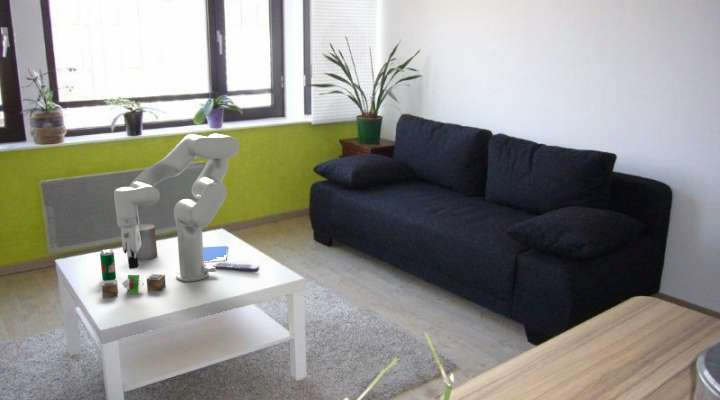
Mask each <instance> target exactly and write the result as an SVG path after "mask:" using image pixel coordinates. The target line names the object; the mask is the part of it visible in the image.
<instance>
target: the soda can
mask: <svg viewBox="0 0 720 400" xmlns="http://www.w3.org/2000/svg"><path fill="white" fill-rule="evenodd" d="M99 258H100V259H99V260H100V267H101V269H100V270H101V277H102V281H108V280H117V273H116V272H117V271H116V262H115V252H114V251H113V250H112V249H111V248H110V249H108V248H107V249H103V250H101V251H100V253H99Z"/></svg>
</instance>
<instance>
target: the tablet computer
mask: <svg viewBox="0 0 720 400" xmlns="http://www.w3.org/2000/svg"><path fill="white" fill-rule="evenodd" d="M227 247H228V246H227V245H224V246H220V245H219V246H218V245H217V246H203V256H204V261H210V260H213V259H217V258H216V257H224V255H227V256H228V254H227Z"/></svg>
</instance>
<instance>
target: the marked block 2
mask: <svg viewBox="0 0 720 400" xmlns="http://www.w3.org/2000/svg"><path fill="white" fill-rule="evenodd" d="M166 287H167V286H166V275H165V274H158V273H157V274H155V273H152V274H151V275H149V276H148V277H147V278H146V291H147V292H157V293H158V292H159V293H161V291H163V290H164V289H165V288H166Z"/></svg>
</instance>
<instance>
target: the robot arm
mask: <svg viewBox="0 0 720 400" xmlns="http://www.w3.org/2000/svg"><path fill="white" fill-rule="evenodd" d="M240 147H241V146H240V142H239V141H238V140H237V138H235V137H233V136H230V135H226V134H222V133H212V134H209V135H208V136H204V135H200V134H195V133H190V134H187V135H186V136H184V137H183V138H182V139H181V140H180V141H179V142H178V143H177V145H175V146H174V147H173V148H172V150H170V151H169V152H168V153H167V154H166V156H164V157H163V158H161V160H159V161H157V162H155V163H154V164H152V165H150V166H148V167H147V168H145V169H144V170H143V171H142V172H141V173H139V174H138V175H137V176H136V177H135V178H134V179H133V180H132V182H131V183H130V184H129V186H123V187H122V186H121V187H118V188H115V190H113V198H114V199H113V200H114V207H115V214H116V215H115V216H116V222H117V227H118V228H120V234H121V235H120V236H121V245H122V253H124V254H126V256H127V261H128V268H129V270H131V269H132V270H134V269H135V270H136V269H139V265H140V264H139V260H138V257H137V252H138V250H139V249H140V247H141V238H140V232H139V227H138V225H139V224H140V219H139V210H138V209H139V208H138V207H141V206H152V205H154V204H156V203H157V202H159V200H160V196H161V193H160V191H159V189H158V188H157V187H156V185H157V184H159V183H160V182H162V181H165V180H167V179H170V178H174V177H177V176H180V175H181V174H182V173H183V172H184V171H185V170H186V169H187V168H188V167H189V166H190V165H191V164H192V163H193V162H194V161H195V159H197V158H198V159H200V160H201V159H202V160H207V162H206V164H205V166H204V168H203V169H202V171H201V172H200V174H199V175H198V177H197V178H196V180H195V181H194V183H193V184H192V186H191V194H192V196H193V197H194V198H195V199H197V200H194V199H190V198H184V199H181V200H178V201H177V203H176V204H175V205H174V208H173V218H174V221H175V225H176V226H175V227H176V232H177V234H176V235H177V246H178V248H177V249H178V250H177V251H178V264H179V271H178V272H177V273H175V278H176V279H177V280H178V281H181V282H197V281H201V279H202V280H204V279H206V278H208V276H209V273H216V269H217V268H216V266H213V265H207V264H206V262H204V256H203V247H204V244H203V243H204V242H203V229H204V228H205V227H208V225H210V223H211V222H212V221H213V220H214V218H215V216H216V214H217V213H218V211H219V210H220V208H221V207H222V205H223V204H224V202H225V201H226V197H227V194H228V193H227V192H228V191H227V187H226V185H225V184H224V183H223V179H224V178H225V176H226V174H227V172H228V170H229V159H232V158H233V157H235V156H237V155H238V153H239V151H240Z"/></svg>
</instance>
